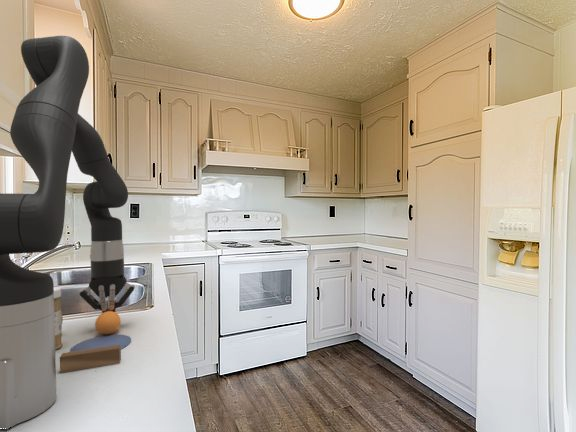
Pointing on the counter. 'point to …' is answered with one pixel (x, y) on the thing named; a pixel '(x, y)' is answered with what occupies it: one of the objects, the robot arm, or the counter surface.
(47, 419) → the counter surface
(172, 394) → the counter surface
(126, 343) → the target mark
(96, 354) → the stopper wall
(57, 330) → the sprinkles bottle
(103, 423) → the counter surface
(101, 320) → the ball
